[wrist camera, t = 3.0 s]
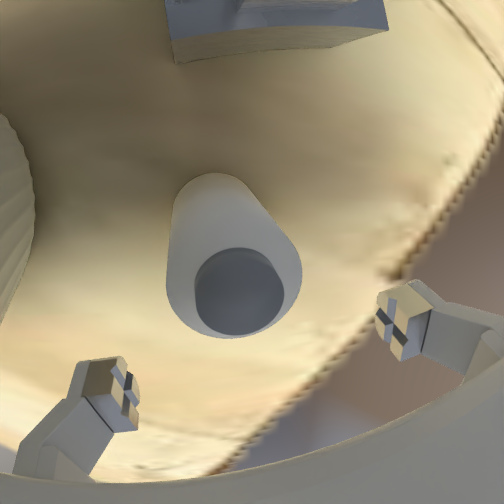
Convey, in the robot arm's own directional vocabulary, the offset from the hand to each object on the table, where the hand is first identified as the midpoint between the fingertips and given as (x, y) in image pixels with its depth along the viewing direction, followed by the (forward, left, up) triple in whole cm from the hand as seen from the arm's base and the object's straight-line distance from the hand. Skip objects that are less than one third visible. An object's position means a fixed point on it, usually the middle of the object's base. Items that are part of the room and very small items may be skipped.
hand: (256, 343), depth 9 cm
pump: (0, 0, -11) cm, 11 cm away
